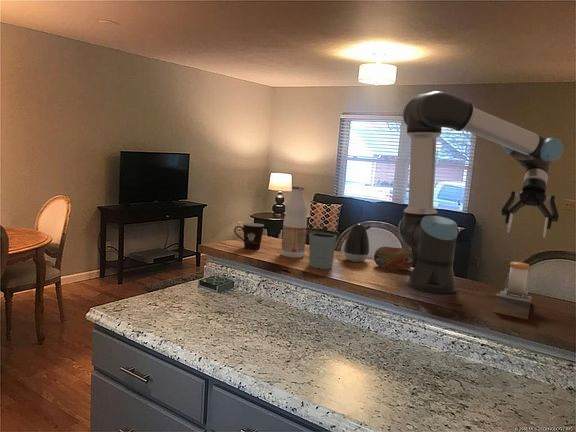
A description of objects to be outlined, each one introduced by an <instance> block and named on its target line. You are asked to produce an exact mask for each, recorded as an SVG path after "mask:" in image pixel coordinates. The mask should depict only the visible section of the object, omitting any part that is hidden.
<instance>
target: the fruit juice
mask: <svg viewBox="0 0 576 432" xmlns="http://www.w3.org/2000/svg"><path fill="white" fill-rule="evenodd" d="M291 190H292V192H291V194H290V196H289V199H288V201H287V202H286V204H285V207H284V213H285V216H284V218H283V226H282V236H281V237H282V238H281V249H280V254H281V256H283V257H286V258H291V259H292V258H293V259H301V258H304V256H305V251H306V241H307V236H306V235H307V228H308V220H307V214H308V212H309V207H308V204H307V202H306V198H305V193H304V191H305V186H304V185H303V186H301V185H292V187H291Z"/></svg>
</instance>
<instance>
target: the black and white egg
mask: <svg viewBox="0 0 576 432" xmlns="http://www.w3.org/2000/svg"><path fill="white" fill-rule="evenodd" d="M369 229H371V225H367V226H364V224H362V223H359V222H358V223H355V224H353V225H352V226H351V228H350V229H349V231H348V234H347V235H346V239H345V240H344V241H345V242H344V245H343V252H344V256H345V259H347V260H349V261H350V262H353V263H362V262H364V261H366V259H367V258H368V256H369V254H370V239H369V236H368V235H369V234H368V231H367V230H369Z"/></svg>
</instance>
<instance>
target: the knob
mask: <svg viewBox="0 0 576 432" xmlns="http://www.w3.org/2000/svg"><path fill="white" fill-rule="evenodd" d="M530 266H531V265H530V264H529V263H526V262H520V261H510V262H509V275H508V280H507V282H508V283H507V287H506V288H507V290H508V292H509V293H508V294H512V295H517V296H520V297H519V298H522V295H524V293H525V291H526V289H527V280H528V273H529V269H530Z"/></svg>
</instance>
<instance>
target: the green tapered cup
mask: <svg viewBox="0 0 576 432" xmlns="http://www.w3.org/2000/svg"><path fill="white" fill-rule="evenodd" d="M308 236H309V243H308V244H309V246H308V247H309V250H308V251H309V252H308V253H309V254H308V255H309V256H308V266H309V267H310V268H312V267H314V268H313V269H316V268H320V269H319V270H331V269H332V268H333V262H334V258H335V257H334V254H335V249H336V244H337V243H336V242H337V235H335V234H333V233H327V232H311V233H309V235H308ZM330 268H331V269H330Z"/></svg>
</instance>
